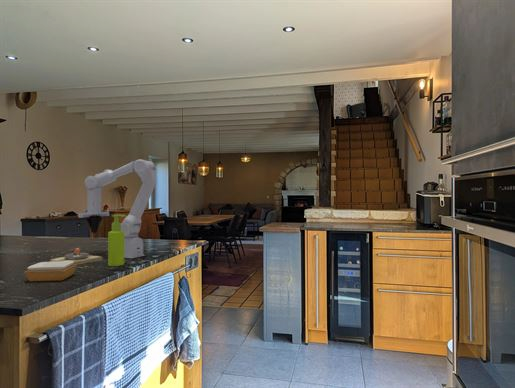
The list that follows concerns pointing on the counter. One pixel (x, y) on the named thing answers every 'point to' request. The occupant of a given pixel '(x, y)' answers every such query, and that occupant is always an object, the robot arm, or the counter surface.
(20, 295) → the counter surface
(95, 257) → the board
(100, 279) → the counter surface
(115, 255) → the soap dispenser
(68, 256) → the handwheel
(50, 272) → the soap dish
